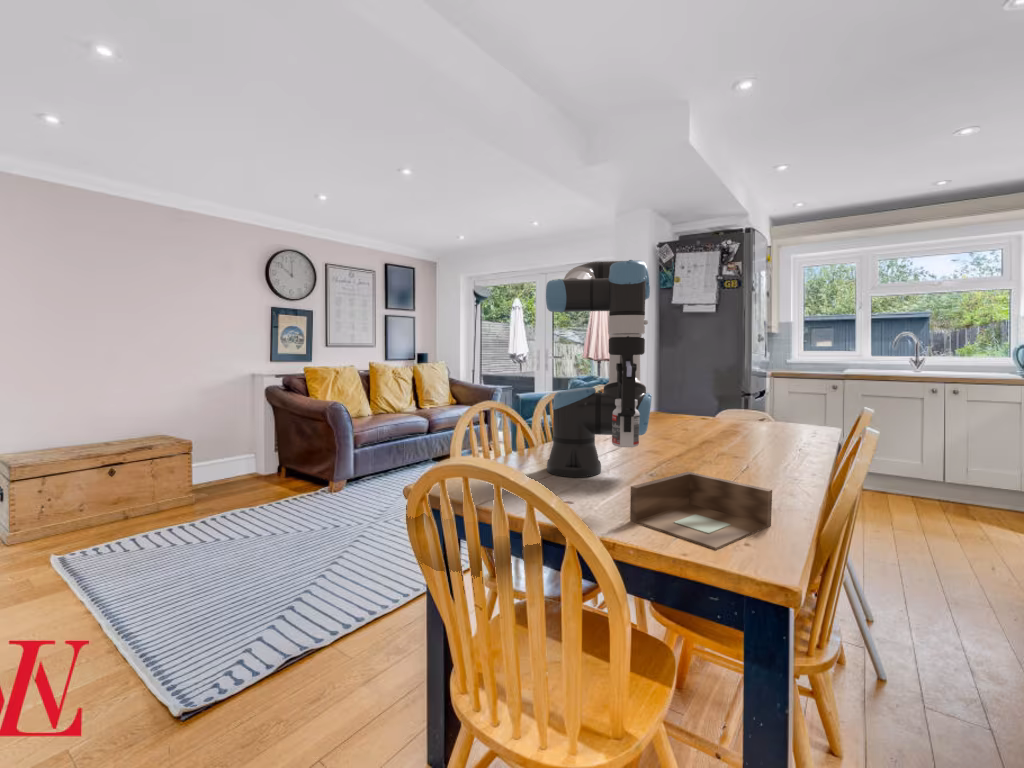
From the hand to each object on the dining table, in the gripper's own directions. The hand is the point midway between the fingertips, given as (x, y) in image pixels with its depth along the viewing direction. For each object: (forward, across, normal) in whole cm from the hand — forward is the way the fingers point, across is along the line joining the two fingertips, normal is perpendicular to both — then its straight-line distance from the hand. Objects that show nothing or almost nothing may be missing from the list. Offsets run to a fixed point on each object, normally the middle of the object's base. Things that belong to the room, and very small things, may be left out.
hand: (625, 443), depth 109 cm
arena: (+14, -9, -14) cm, 21 cm away
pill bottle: (+1, 0, 0) cm, 1 cm away
